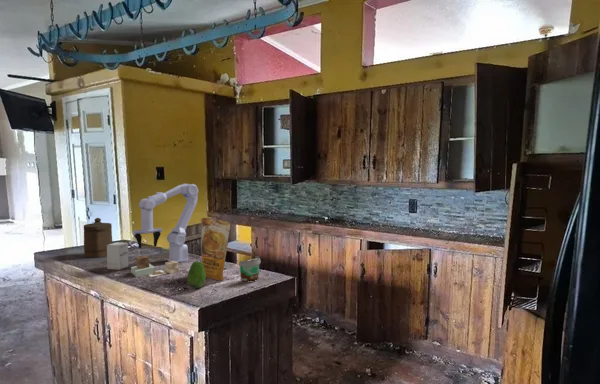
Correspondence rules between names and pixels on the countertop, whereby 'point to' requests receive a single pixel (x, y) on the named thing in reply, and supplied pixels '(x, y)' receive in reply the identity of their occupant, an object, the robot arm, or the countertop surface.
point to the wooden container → (97, 238)
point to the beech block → (171, 267)
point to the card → (158, 273)
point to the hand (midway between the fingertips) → (147, 246)
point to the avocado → (196, 275)
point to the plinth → (143, 271)
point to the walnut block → (142, 262)
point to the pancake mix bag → (214, 246)
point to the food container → (249, 269)
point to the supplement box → (117, 255)
